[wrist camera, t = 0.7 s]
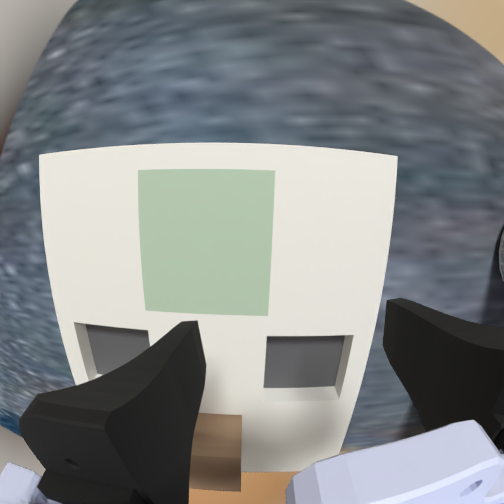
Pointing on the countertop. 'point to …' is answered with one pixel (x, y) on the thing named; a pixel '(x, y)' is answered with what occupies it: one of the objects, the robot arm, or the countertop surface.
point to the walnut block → (216, 453)
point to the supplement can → (501, 256)
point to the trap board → (227, 275)
